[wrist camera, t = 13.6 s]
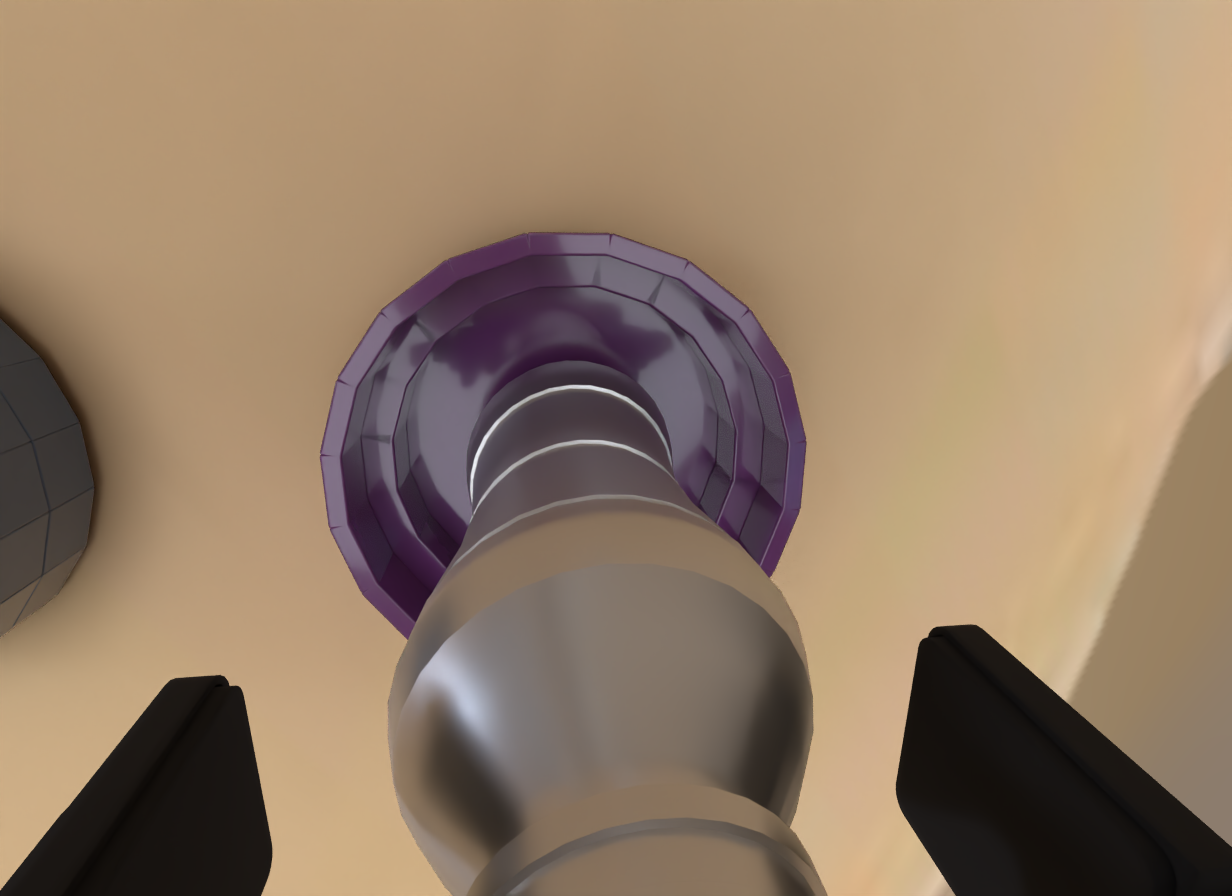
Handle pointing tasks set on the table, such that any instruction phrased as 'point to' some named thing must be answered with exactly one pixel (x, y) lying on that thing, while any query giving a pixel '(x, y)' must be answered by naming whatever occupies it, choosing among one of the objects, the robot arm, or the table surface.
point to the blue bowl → (37, 483)
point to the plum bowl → (523, 340)
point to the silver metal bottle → (599, 671)
